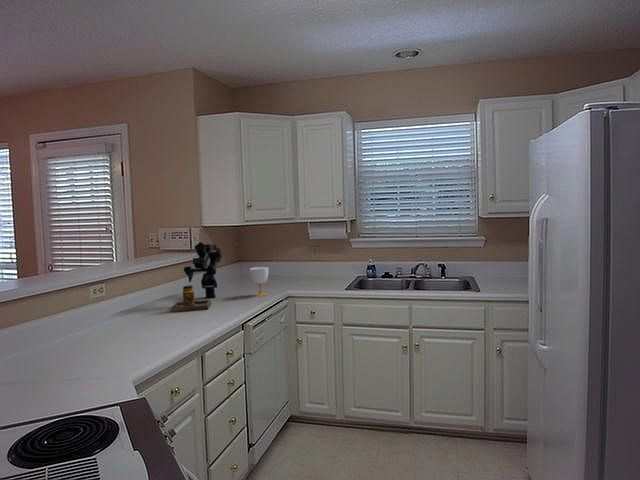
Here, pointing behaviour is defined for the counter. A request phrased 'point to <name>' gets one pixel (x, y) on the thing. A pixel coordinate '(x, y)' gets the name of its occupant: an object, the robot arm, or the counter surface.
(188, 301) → the condiment
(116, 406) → the counter surface
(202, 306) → the tray
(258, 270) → the cup
